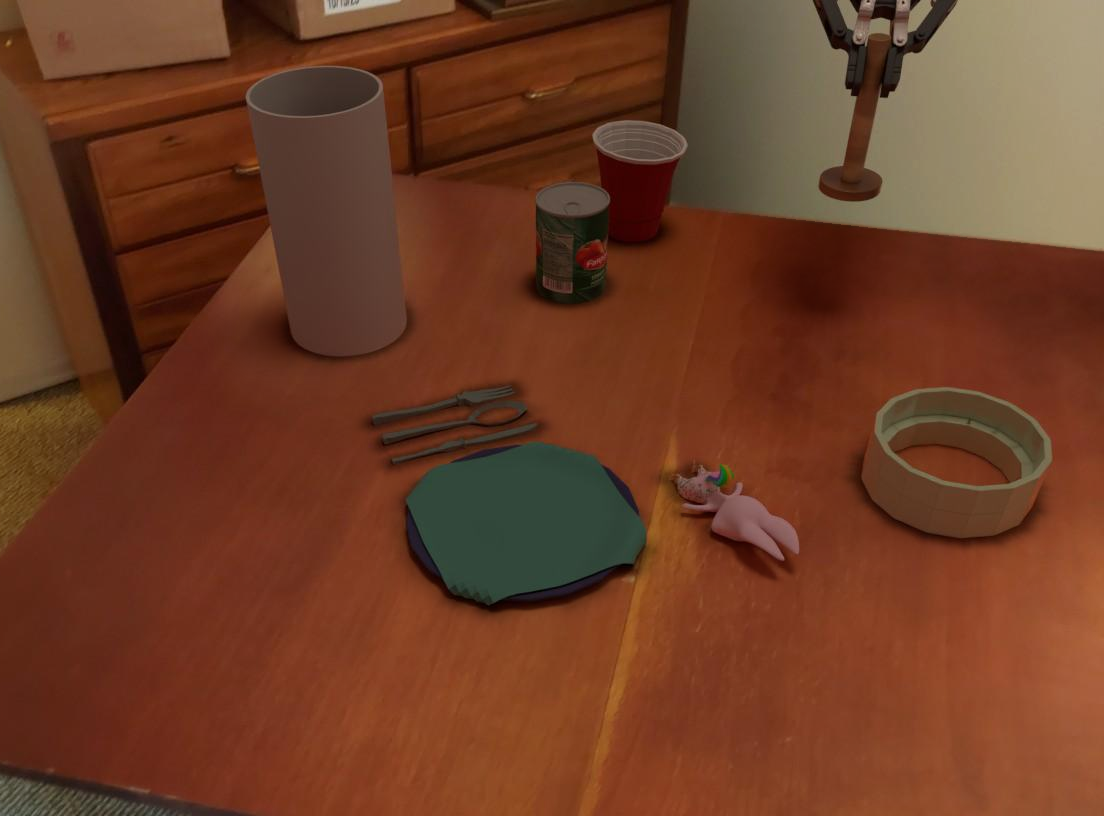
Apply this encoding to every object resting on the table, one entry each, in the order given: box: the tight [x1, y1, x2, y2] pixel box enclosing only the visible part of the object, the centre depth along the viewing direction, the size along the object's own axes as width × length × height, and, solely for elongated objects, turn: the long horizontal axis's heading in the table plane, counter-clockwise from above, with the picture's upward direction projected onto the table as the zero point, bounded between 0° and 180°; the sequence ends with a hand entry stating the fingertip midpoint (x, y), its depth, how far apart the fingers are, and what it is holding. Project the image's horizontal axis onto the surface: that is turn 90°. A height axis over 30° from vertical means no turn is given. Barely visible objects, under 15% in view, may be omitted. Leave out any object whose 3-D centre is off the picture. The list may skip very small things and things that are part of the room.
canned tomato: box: [534, 181, 610, 305], centre depth 116 cm, size 8×8×11 cm
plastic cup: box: [592, 119, 689, 243], centre depth 124 cm, size 11×11×12 cm
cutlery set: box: [371, 384, 647, 606], centre depth 94 cm, size 20×30×2 cm, turn 21°
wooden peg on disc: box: [817, 32, 891, 203], centre depth 101 cm, size 6×6×14 cm
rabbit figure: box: [668, 459, 800, 562], centre depth 89 cm, size 6×6×15 cm
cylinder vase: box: [245, 65, 408, 357], centre depth 106 cm, size 12×12×25 cm
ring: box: [860, 386, 1053, 539], centre depth 92 cm, size 14×14×6 cm
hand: (870, 92), depth 97 cm, fingers closed on wooden peg on disc
